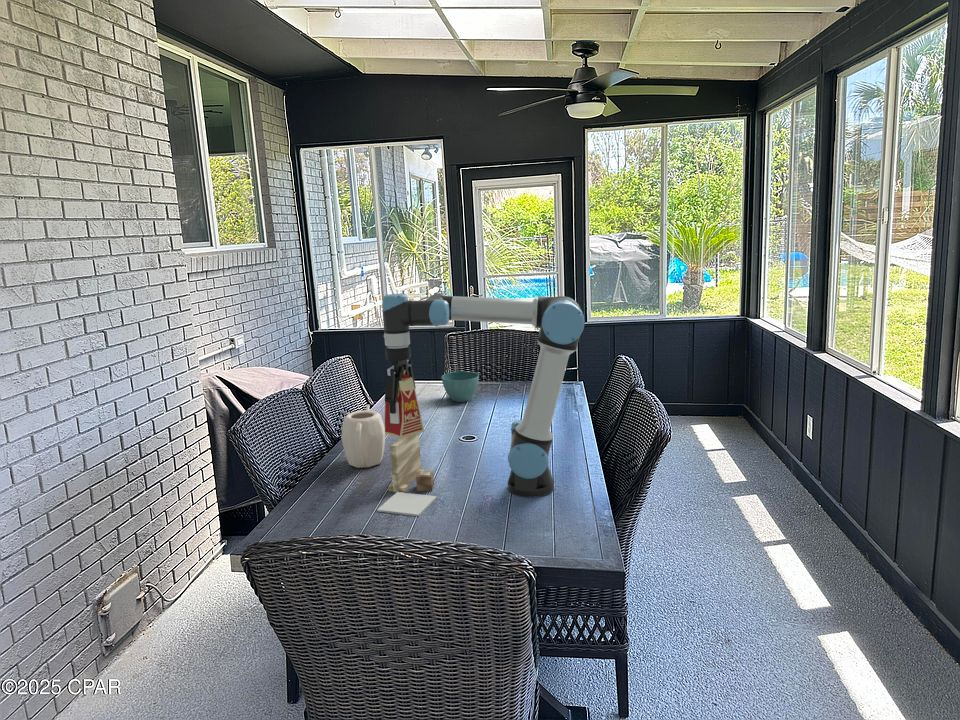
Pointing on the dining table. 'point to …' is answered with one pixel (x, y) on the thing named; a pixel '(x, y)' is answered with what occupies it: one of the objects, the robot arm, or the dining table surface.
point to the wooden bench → (405, 462)
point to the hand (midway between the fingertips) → (402, 418)
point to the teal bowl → (460, 385)
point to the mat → (407, 504)
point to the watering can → (363, 438)
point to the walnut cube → (425, 480)
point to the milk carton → (405, 411)
